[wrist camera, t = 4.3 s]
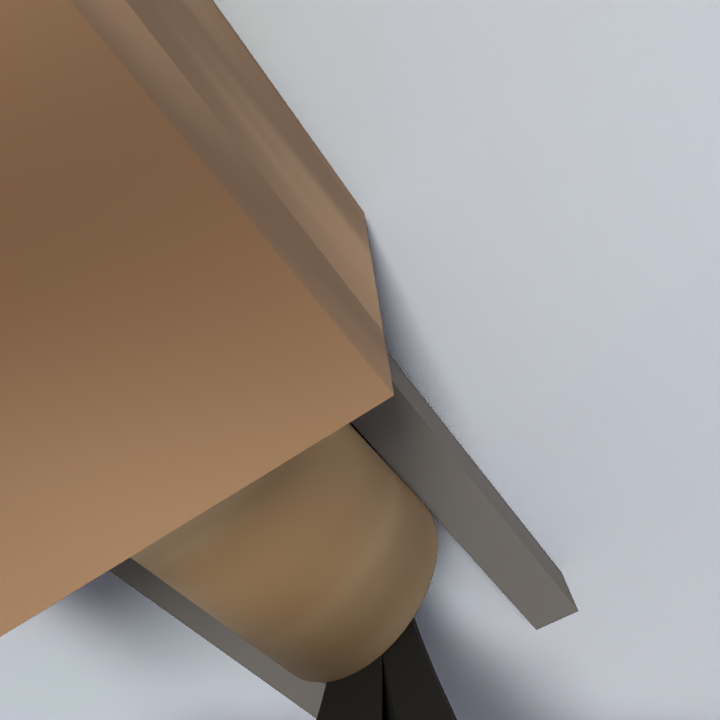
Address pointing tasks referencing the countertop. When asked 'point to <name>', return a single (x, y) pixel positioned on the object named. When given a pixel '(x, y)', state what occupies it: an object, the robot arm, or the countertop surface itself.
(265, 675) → the guide rails
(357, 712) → the robot arm
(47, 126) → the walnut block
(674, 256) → the countertop surface
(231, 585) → the oak dowel
